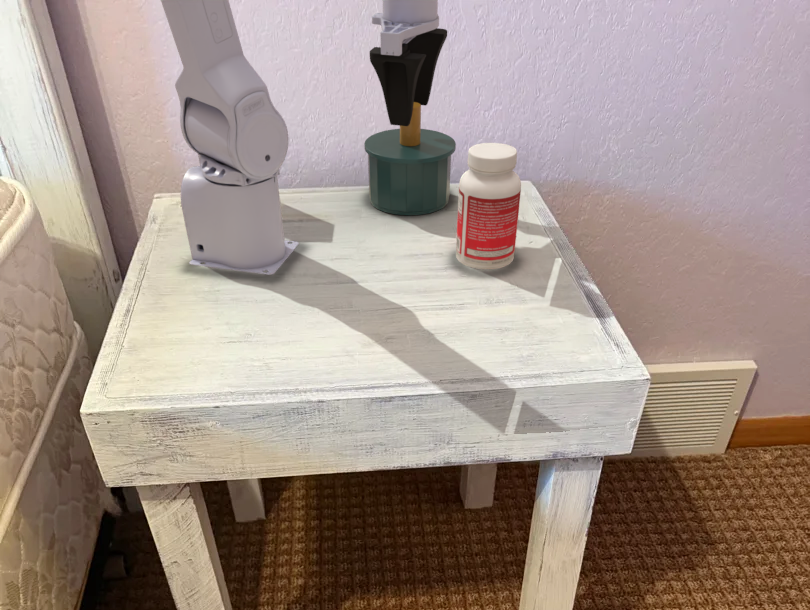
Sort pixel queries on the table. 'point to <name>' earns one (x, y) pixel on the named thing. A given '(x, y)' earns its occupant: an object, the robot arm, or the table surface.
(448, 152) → the lid
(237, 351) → the table surface
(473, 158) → the pill bottle
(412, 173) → the tin
